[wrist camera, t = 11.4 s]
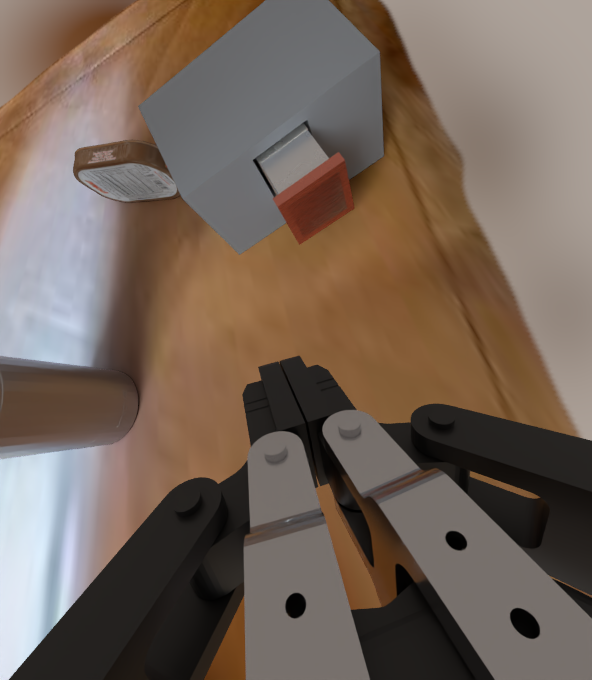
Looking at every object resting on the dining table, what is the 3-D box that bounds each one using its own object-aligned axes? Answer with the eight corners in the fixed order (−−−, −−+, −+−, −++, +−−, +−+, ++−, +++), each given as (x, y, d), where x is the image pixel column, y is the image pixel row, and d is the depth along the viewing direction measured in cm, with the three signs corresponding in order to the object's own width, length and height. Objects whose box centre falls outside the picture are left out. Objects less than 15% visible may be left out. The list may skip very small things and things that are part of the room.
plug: (354, 208, 30) (344, 160, 24) (299, 244, 31) (277, 206, 25) (283, 111, 36) (261, 51, 30) (238, 145, 37) (208, 94, 31)
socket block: (383, 156, 35) (379, 51, 25) (239, 254, 38) (182, 198, 28) (324, 85, 39) (300, -29, 29) (199, 178, 42) (138, 106, 32)
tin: (199, 180, 43) (154, 129, 35) (194, 201, 42) (149, 154, 34) (115, 190, 47) (60, 147, 39) (111, 208, 47) (53, 169, 39)
